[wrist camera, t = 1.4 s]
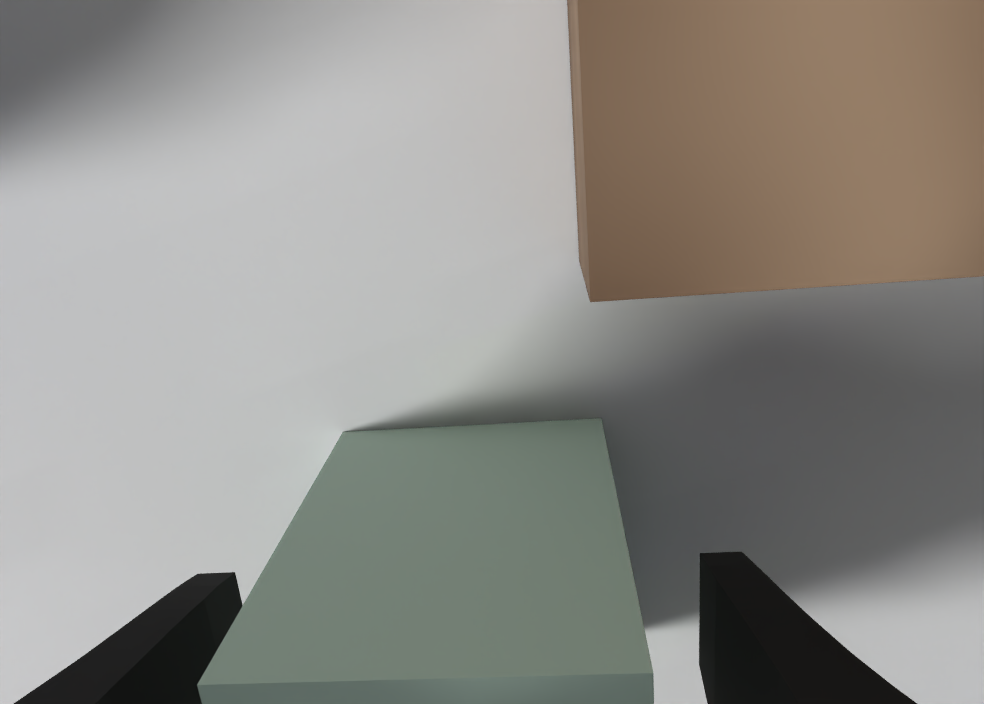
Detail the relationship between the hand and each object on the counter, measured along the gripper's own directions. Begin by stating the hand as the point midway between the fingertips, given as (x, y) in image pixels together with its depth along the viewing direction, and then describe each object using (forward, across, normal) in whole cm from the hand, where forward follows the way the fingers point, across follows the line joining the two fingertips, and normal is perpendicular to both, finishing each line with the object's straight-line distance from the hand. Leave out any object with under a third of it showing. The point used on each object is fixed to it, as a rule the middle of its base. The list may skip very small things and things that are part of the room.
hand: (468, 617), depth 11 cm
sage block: (+2, 0, 0) cm, 2 cm away
